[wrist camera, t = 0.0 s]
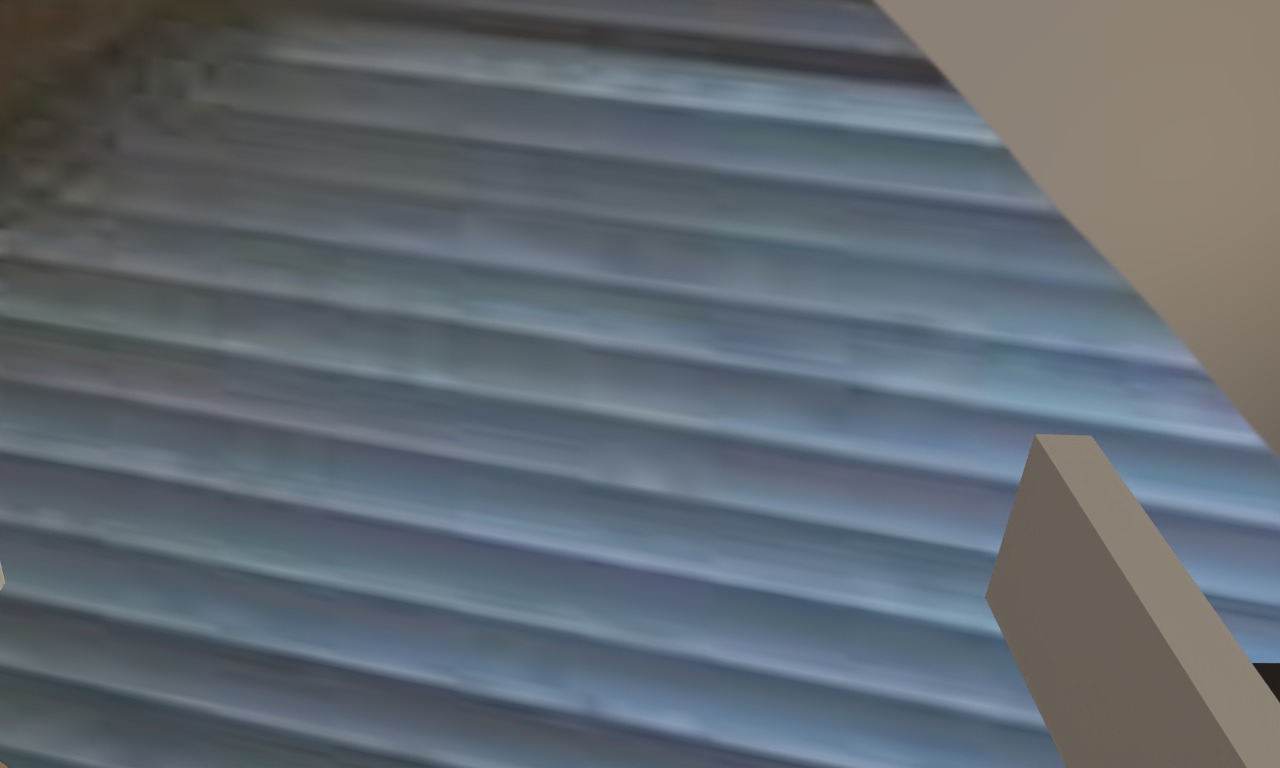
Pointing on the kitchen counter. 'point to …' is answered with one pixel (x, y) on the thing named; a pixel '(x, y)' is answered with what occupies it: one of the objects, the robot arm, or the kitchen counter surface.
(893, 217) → the kitchen counter surface
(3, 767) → the oak stand
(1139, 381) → the kitchen counter surface
